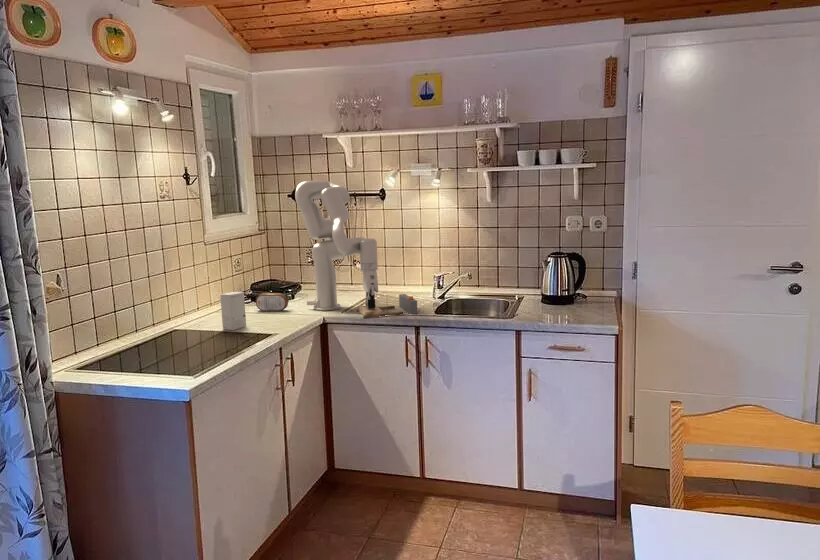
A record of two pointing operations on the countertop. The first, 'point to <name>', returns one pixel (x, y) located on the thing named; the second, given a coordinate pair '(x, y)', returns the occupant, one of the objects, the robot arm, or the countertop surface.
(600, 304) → the countertop surface
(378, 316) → the track
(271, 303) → the tin
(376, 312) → the post on wide base
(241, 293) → the skincare box
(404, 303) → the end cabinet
